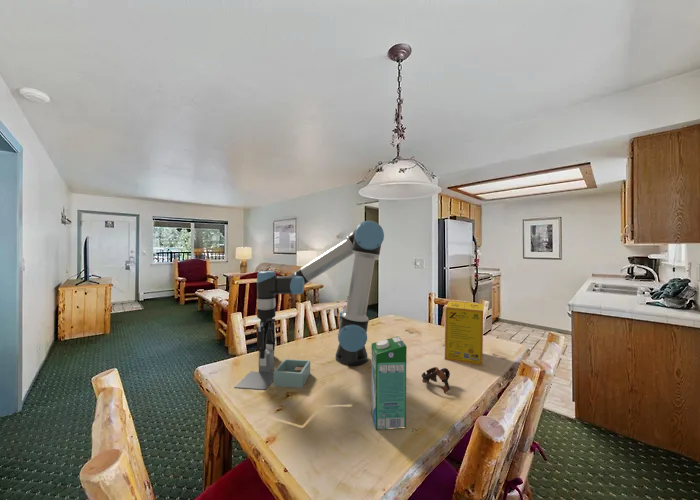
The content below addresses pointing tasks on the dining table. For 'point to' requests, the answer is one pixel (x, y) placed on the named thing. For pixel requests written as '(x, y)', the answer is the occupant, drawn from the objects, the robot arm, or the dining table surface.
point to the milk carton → (388, 383)
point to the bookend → (259, 375)
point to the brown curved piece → (433, 374)
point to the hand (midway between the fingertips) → (266, 362)
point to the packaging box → (464, 332)
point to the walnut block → (299, 368)
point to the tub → (291, 373)
